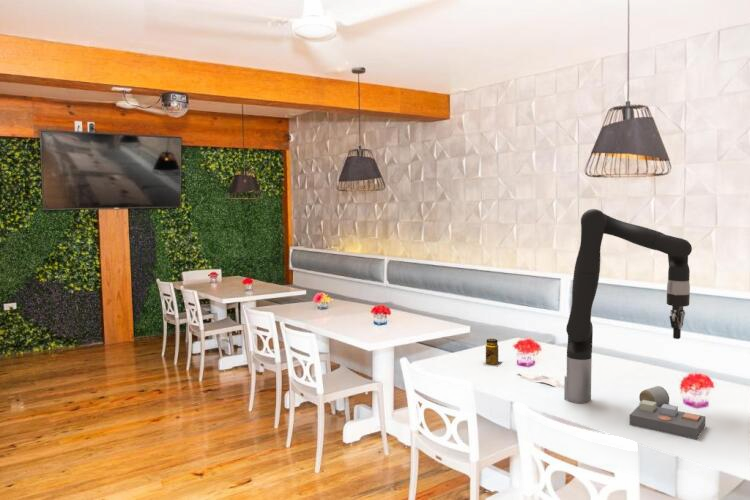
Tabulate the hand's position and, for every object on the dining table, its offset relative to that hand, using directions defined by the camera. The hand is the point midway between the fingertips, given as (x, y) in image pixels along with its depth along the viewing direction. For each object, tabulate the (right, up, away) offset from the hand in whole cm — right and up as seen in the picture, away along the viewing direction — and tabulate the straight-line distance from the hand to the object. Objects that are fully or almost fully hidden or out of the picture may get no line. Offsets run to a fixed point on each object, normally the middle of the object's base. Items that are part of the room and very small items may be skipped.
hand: (676, 338), depth 218 cm
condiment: (-55, -23, +67) cm, 90 cm away
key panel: (-11, -28, -14) cm, 33 cm away
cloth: (-39, -25, +39) cm, 60 cm away
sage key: (-15, -25, -8) cm, 30 cm away
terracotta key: (-4, -27, -17) cm, 32 cm away
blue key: (-9, -25, -13) cm, 30 cm away
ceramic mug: (-6, -27, +3) cm, 28 cm away
